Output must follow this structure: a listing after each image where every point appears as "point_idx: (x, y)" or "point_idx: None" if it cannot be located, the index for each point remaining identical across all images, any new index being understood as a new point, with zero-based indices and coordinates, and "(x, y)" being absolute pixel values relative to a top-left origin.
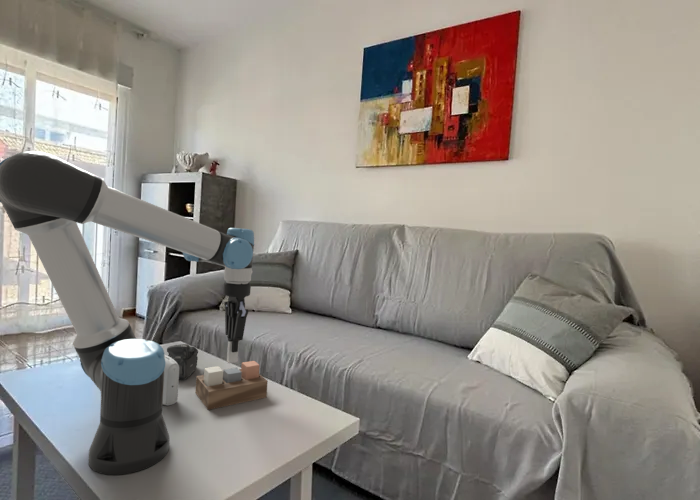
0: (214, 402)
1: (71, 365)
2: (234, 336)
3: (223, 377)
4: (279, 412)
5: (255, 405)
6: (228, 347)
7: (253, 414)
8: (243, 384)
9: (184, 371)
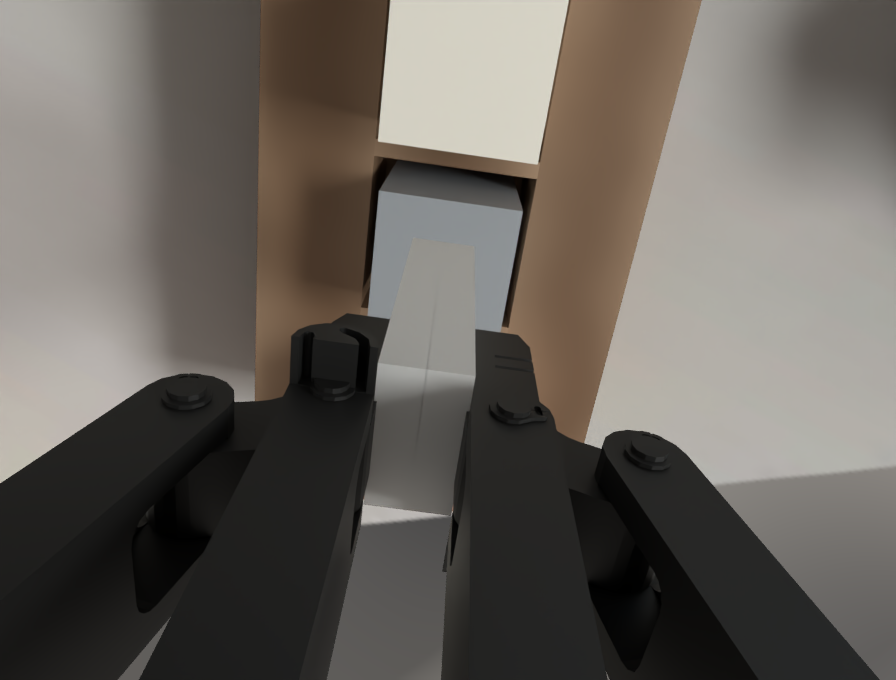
0: None
1: None
2: (131, 423)
3: (503, 191)
4: (58, 332)
5: (213, 265)
6: (435, 313)
7: (94, 187)
8: (273, 262)
9: None
